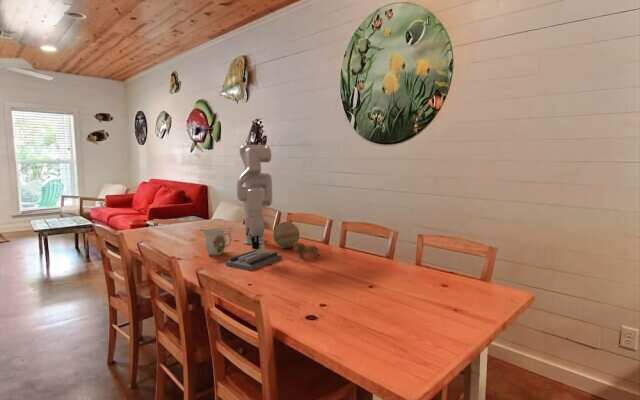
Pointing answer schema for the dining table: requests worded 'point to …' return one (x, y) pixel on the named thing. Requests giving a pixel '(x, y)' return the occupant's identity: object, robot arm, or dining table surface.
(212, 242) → the pitcher
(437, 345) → the dining table surface
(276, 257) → the breaker panel
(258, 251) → the knob
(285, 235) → the decorative ball
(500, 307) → the dining table surface
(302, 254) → the lion figurine
